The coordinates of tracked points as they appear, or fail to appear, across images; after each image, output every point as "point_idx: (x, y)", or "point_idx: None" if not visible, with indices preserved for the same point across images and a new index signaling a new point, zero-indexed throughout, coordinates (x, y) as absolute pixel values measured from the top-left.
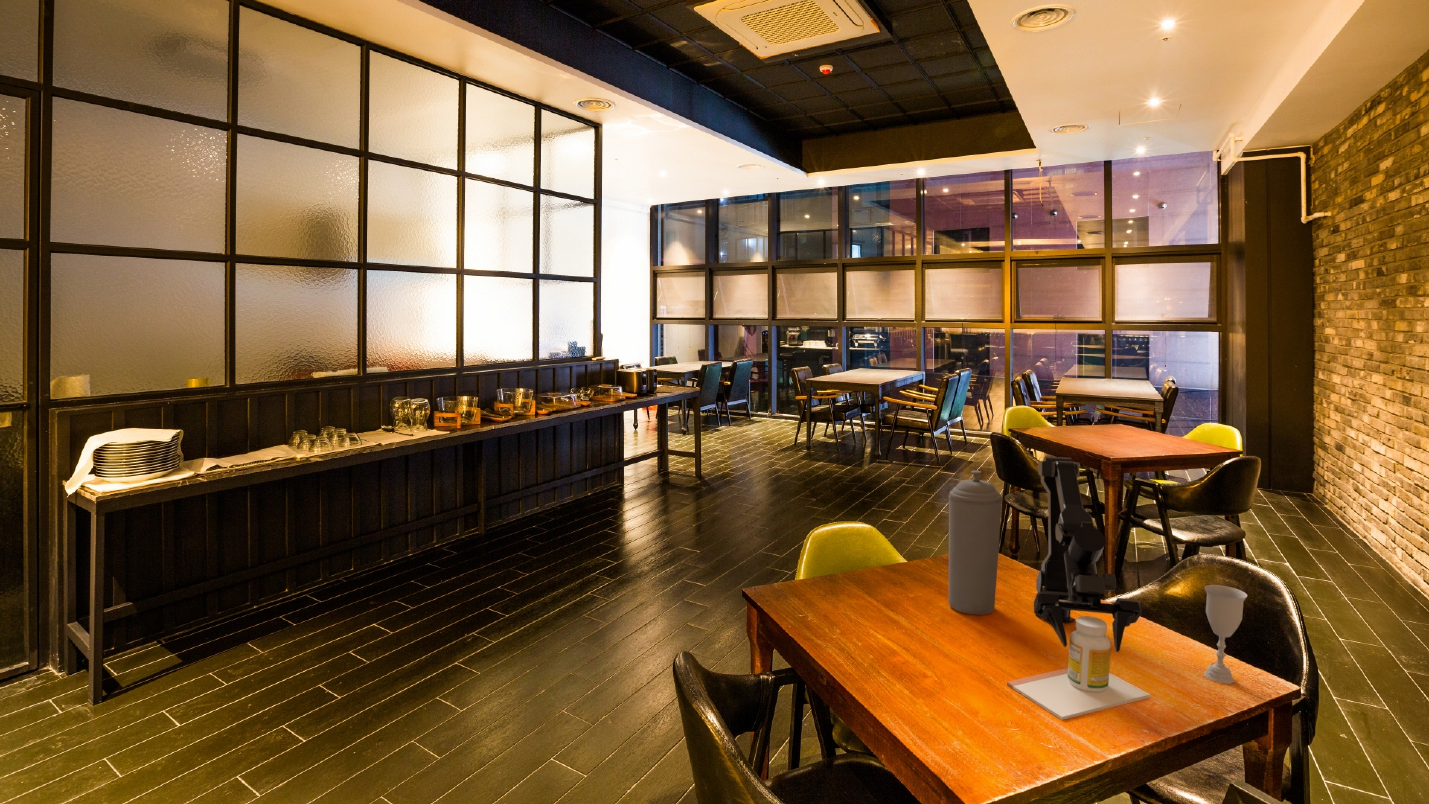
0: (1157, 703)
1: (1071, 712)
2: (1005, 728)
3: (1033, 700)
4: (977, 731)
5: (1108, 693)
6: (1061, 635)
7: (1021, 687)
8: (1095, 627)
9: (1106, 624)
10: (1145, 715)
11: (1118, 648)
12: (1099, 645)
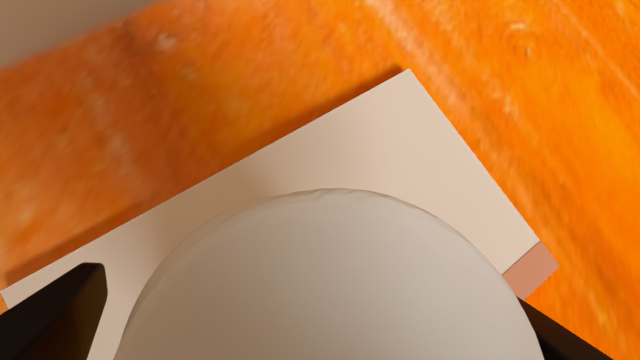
0: (3, 240)
1: (378, 94)
2: (536, 27)
3: (476, 162)
4: (589, 12)
5: None
6: (549, 319)
7: (514, 234)
8: (341, 192)
9: (122, 351)
10: (115, 135)
11: (84, 268)
12: (271, 197)
